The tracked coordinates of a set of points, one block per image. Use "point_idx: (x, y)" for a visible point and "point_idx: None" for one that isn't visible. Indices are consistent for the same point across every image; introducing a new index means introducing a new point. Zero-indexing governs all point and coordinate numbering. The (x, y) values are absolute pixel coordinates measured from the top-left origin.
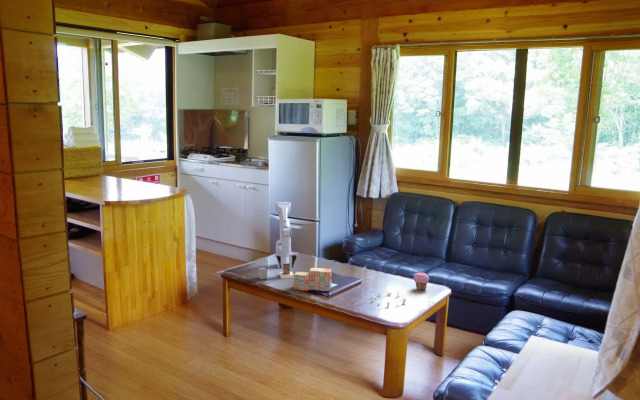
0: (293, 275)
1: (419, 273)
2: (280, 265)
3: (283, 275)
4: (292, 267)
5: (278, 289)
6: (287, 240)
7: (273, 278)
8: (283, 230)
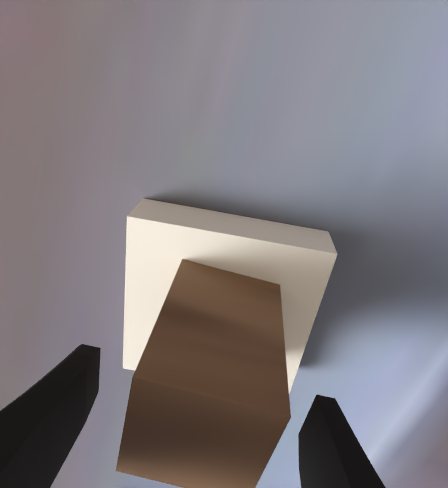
0: (133, 212)
1: None
2: (345, 445)
3: (295, 246)
4: (91, 348)
5: None
6: None
7: (423, 276)
8: None
